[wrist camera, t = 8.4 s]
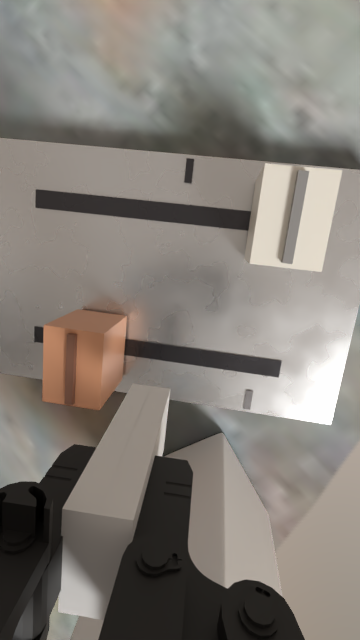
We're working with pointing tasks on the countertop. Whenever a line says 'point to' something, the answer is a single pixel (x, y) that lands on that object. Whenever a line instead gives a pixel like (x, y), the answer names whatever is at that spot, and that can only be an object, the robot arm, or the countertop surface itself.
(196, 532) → the milk carton
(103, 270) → the console
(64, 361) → the fader
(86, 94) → the countertop surface
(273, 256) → the block
